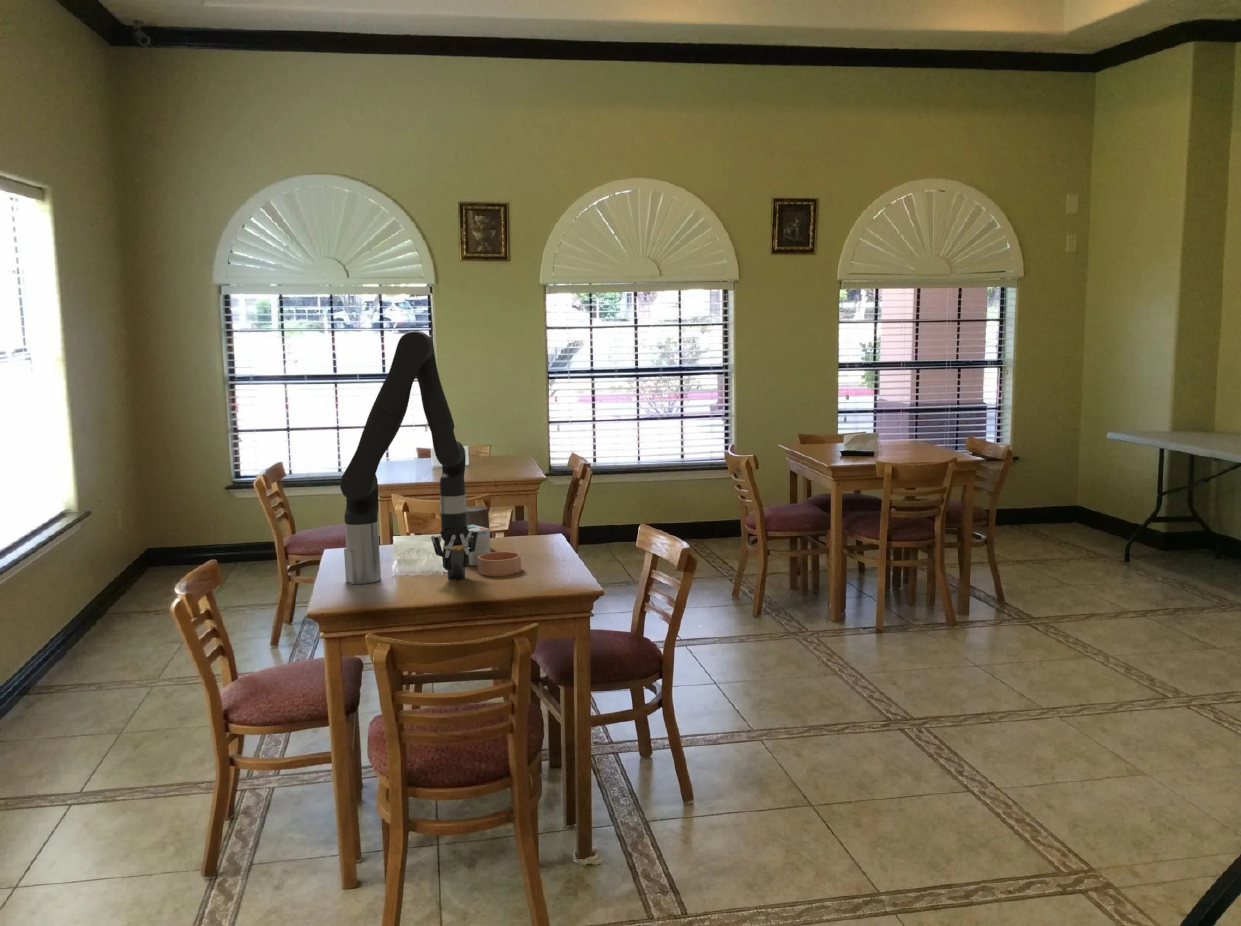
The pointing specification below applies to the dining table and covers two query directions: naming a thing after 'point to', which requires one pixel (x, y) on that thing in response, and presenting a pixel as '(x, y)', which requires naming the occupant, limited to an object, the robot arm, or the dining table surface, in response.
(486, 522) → the pillar candle
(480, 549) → the light bulb box
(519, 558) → the pink round dish
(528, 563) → the dining table surface
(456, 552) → the black cell
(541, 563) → the dining table surface
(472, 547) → the robot arm
